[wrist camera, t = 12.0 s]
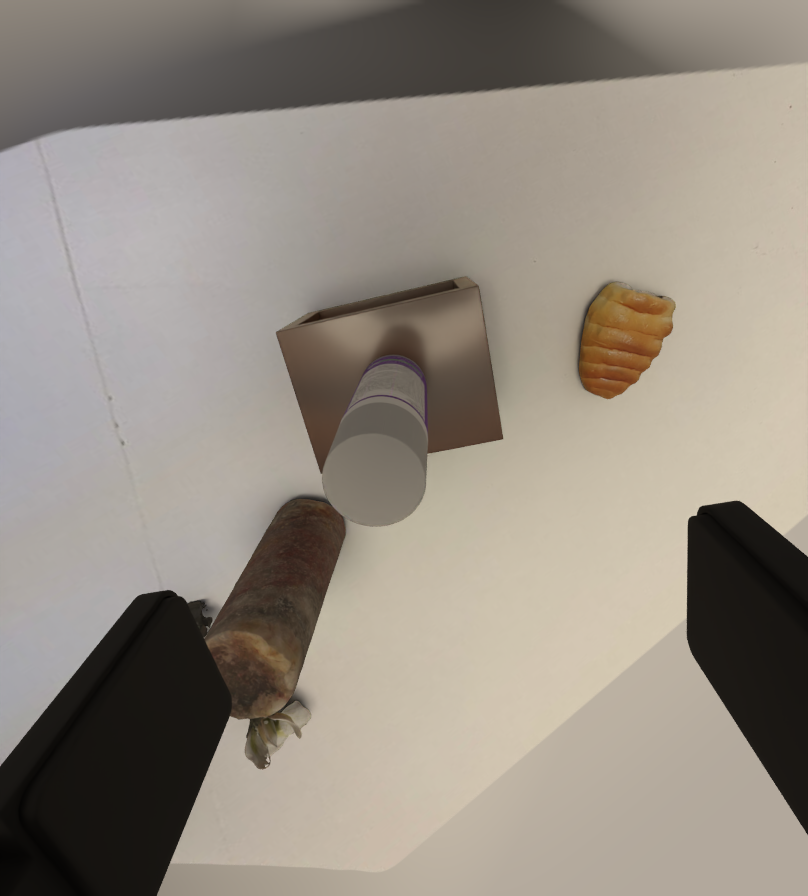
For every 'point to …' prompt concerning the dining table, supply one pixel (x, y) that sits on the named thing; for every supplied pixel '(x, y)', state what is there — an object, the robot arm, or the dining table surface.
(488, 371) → the shelf
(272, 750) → the artificial flower
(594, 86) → the dining table surface
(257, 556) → the brown rounded bar
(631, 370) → the pastry
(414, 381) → the container
